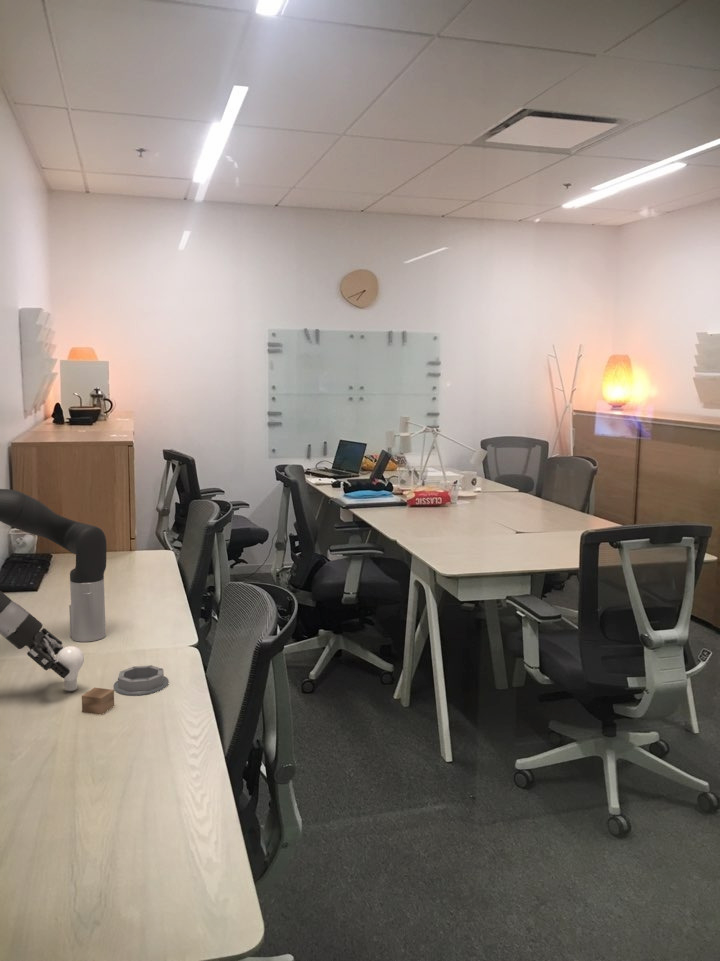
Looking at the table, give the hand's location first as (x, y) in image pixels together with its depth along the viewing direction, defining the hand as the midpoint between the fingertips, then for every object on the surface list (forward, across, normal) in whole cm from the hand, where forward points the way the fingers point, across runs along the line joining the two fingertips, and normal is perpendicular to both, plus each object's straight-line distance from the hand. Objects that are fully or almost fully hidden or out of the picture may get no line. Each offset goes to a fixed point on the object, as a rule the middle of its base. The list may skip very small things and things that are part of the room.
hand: (69, 668), depth 184 cm
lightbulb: (+4, 0, -4) cm, 6 cm away
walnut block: (+9, +12, +1) cm, 16 cm away
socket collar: (+16, 0, +8) cm, 17 cm away
